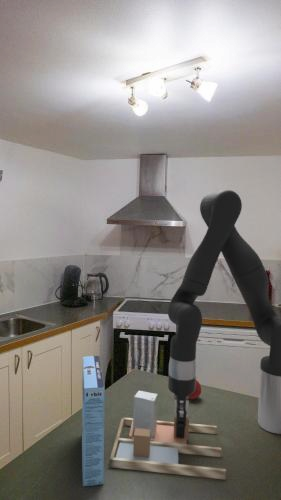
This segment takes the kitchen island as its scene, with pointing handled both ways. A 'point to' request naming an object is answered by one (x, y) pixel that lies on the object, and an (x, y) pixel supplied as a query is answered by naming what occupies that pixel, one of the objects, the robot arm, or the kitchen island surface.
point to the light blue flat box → (92, 422)
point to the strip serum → (167, 433)
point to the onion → (196, 391)
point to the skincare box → (145, 412)
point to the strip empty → (146, 449)
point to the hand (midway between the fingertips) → (180, 432)
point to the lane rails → (182, 448)
